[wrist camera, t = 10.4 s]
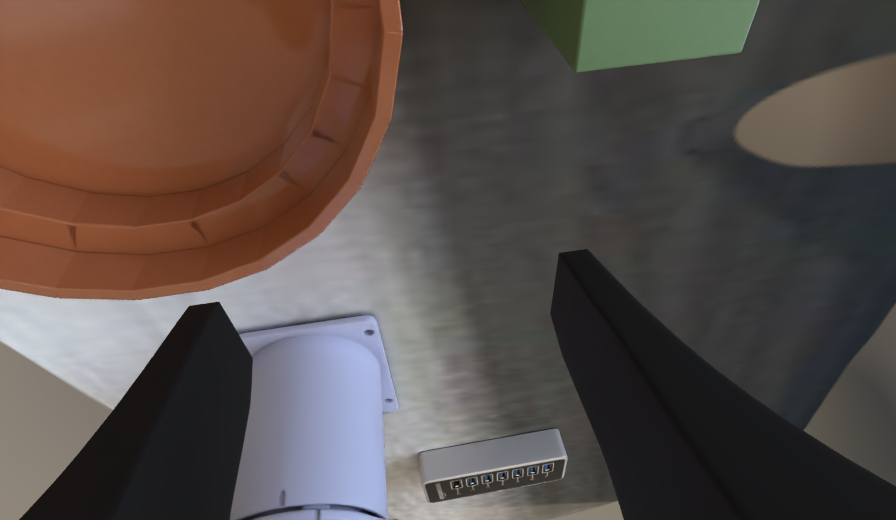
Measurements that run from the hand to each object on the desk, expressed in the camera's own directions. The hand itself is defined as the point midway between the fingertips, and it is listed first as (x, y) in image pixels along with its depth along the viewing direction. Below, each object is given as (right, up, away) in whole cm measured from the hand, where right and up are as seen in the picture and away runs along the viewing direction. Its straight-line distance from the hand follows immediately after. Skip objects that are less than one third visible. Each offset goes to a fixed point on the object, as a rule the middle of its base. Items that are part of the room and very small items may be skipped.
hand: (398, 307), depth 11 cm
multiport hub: (+4, -14, +28) cm, 32 cm away
